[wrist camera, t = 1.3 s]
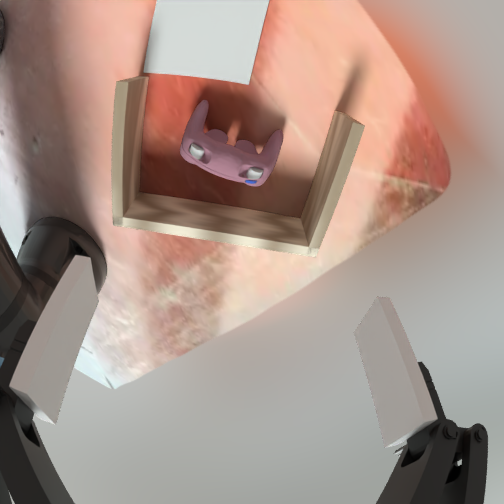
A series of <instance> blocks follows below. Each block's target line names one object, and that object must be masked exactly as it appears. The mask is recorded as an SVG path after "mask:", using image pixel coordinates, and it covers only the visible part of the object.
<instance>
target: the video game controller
mask: <svg viewBox="0 0 504 504" xmlns="http://www.w3.org/2000/svg"><path fill="white" fill-rule="evenodd" d="M208 107H209V104H208V101H207V100H203V101H201V102H200V103H199V104H198V106H197V107H196V109H195V110H194V112H193V114H192V116H191V118H190V120H189V121H188V124H187V126H186V129H185V132H184V135H183V139H182V143H181V147H180V154H181V156H182V157H183V158H184V159H185V160H186V161H188V162H189V163H192V164H196V165H197V166H199V167H201V168H202V169H204V170H206V171H208V172H210V173H212V174H214V175H217V176H219V177H222V178H225V179H228V180H233V181H237V182H243V183H245V184H247V185H250V186H260V185H262V184H263V183H264V182H265V181H266V180H267V178H268V177H269V176H270V174H271V173H272V171H273V169H274V167H275V164H276V161H277V158H278V155H279V152H280V149H281V146H282V142H283V132H282V130H280V129H278V130H276V131H275V132H274V133H273V134H272V136H271V137H270V138H269V140H268V141H267V143H266V145H265V146H264V148H263V150H262V152H261V153H260V154H258V153H257V151H256V149H255V146H254V145H253V144H252V143H251V142H250V141H247V140H238V141H237V142H236V144H235V146H232V145H229V144H226V143H227V141H228V136H227V135H226V134H225V133H224V132H223V131H221V130H218V129H212V130H210V131H208V132H206V133H204V123H205V120H206V116H207V113H208Z"/></svg>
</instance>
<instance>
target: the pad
mask: <svg viewBox="0 0 504 504" xmlns="http://www.w3.org/2000/svg"><path fill="white" fill-rule="evenodd" d="M268 4H269V0H157V3H156V7H155V12H154V16H153V21H152V26H151V31H150V36H149V41H148V47H147V53H146V59H145V65H144V72H143V73H161V74H174V75H185V76H194V77H203V78H210V79H217V80H224V81H230V82H236V83H242V84H248V85H249V82H250V77H251V73H252V69H253V64H254V60H255V56H256V52H257V47H258V43H259V39H260V35H261V31H262V27H263V23H264V19H265V15H266V11H267V7H268Z"/></svg>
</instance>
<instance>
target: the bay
mask: <svg viewBox="0 0 504 504" xmlns="http://www.w3.org/2000/svg"><path fill="white" fill-rule="evenodd" d="M148 80H149V77H142V76H138V77H133V78H129V79H125V80H121V81H117V82H116V89H115V100H114V113H113V130H112V167H111V176H112V213H113V225H114V226H120V227H127V228H133V229H140V230H146V231H153V232H159V233H165V234H172V235H178V236H185V237H191V238H197V239H204V240H210V241H216V242H222V243H229V244H235V245H241V246H248V247H254V248H260V249H266V250H273V251H279V252H285V253H291V254H297V255H304V256H310V257H316V255H317V253H318V250H319V248H320V246H321V243H322V241H323V238H324V236H325V233H326V231H327V228H328V226H329V223H330V221H331V218H332V216H333V213H334V210H335V208H336V205H337V203H338V200H339V197H340V195H341V192H342V189H343V187H344V184H345V181H346V179H347V176H348V173H349V170H350V167H351V165H352V162H353V159H354V156H355V153H356V150H357V148H358V145H359V142H360V139H361V136H362V133H363V130H364V127H365V126H364V125H363V124H361V123H359V122H358V121H356V120H355V119H353V118H352V117H350V116H349V115H347V114H345V113H342V112H339V111H336V110H335V112H334V116H333V119H332V122H331V126H330V129H329V132H328V135H327V139H326V142H325V145H324V148H323V151H322V155H321V158H320V161H319V164H318V167H317V170H316V173H315V176H314V179H313V183H312V186H311V189H310V192H309V195H308V198H307V201H306V204H305V207H304V210H303V213H302V216H301V219H300V218H295V217H290V216H285V215H279V214H274V213H268V212H263V211H257V210H251V209H246V208H240V207H234V206H228V205H222V204H216V203H209V202H203V201H197V200H190V199H184V198H177V197H170V196H163V195H156V194H149V193H141V192H139V190H140V165H141V148H142V135H143V123H144V113H145V104H146V95H147V88H148Z"/></svg>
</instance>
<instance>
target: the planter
mask: <svg viewBox="0 0 504 504" xmlns="http://www.w3.org/2000/svg"><path fill="white" fill-rule="evenodd" d="M3 38H4V18H3V15H2V12H1V10H0V51H1V48H2V43H3Z"/></svg>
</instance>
